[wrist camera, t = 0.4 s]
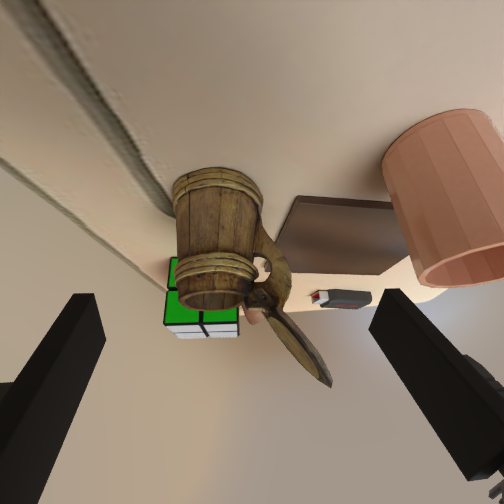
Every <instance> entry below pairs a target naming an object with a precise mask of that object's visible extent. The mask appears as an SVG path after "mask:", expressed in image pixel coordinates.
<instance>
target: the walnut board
mask: <svg viewBox="0 0 504 504" xmlns="http://www.w3.org/2000/svg"><path fill="white" fill-rule="evenodd" d="M275 244H276V245H277V246H278V247H279V249H280V250H281V252H282V253H283V255H284V256H285V258H286V259H287V261H288V264H289V267H290V270H291V273H319V274H353V275H380V274H382V273H383V272H385V271H386V270H388V269H389V268H391V267H392V266H394V265H395V264H396V263H398V262H399V261H401V260H402V259H404V258H405V257H407V256H408V255H409V252H408V249H407V246H406V243H405V240H404V237H403V234H402V231H401V228H400V225H399V222H398V219H397V216H396V213H395V210H394V207H393V204H392V203H390V202H376V201H363V200H349V199H336V198H323V197H309V196H297V198H296V200H295V203H294V205H293V207H292V209H291V211H290V213H289V215H288V217H287V220H286V222H285V224H284V226H283V228H282V230H281V232H280V235H279V237H278V239H277V241H276V243H275ZM265 272H271V267H270V264H269V262H268V261H267V262H266V264H265Z"/></svg>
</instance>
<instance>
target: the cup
mask: <svg viewBox="0 0 504 504" xmlns="http://www.w3.org/2000/svg"><path fill="white" fill-rule="evenodd" d="M382 173H383V177H384V180H385V183H386V186H387V189H388V192H389V195H390V198H391V201H392V204H393V207H394V210H395V213H396V216H397V219H398V222H399V225H400V228H401V231H402V234H403V237H404V240H405V243H406V246H407V249H408V252H409V255H410V258H411V261H412V264H413V267H414V270H415V273H416V276H417V279H418V281H419V283H420V284H421V285H424V286H428V287H431V288H456V287H466V286H474V285H479V284H485V283H490V282H496V281H500V280H504V138H503V136H502V135H501V133H500V132H499V130H498V129H497V127H496V126H495V125H494V124H493V123H492V121H491V120H490V118H489V117H488V116H487V115H486V114H485V113H483V112H481V111H478V110H473V109H458V110H452V111H448V112H444V113H441V114H438V115H435V116H433V117H430V118H428V119H426V120H424V121H422V122H420V123H418V124H417V125H415V126H414V127H412V128H410V129H409V130H408V131H406V132H405V133H404V134H403V135H401V136H400V137H399V138H398V139H397V140H396V141H395V142H394V143H393V144H392V145H391V147H390V148H389V149H388V151H387V152H386V154H385V156H384V158H383V161H382Z"/></svg>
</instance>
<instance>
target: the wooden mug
mask: <svg viewBox="0 0 504 504" xmlns="http://www.w3.org/2000/svg"><path fill="white" fill-rule="evenodd" d="M262 206H263V195H262V194H261V192H260V190H259V188H258V187H257V186H256V185H255V184H254V183H253V182H252V181H251V180H250V179H249V178H248V177H246V176H245V175H243V174H242V173H240V172H236V171H231V170H227V169H221V168H207V169H201V170H198V171H195V172H192V173H190V174H188V175H186V176H183V177H181V178H180V179H179V180H178V181H177V182H176V183H175V184H174V188H173V210H174V213H175V214H176V230H177V264H176V265H175V267H174V279H175V285H176V287H177V288H178V302H179V303H180V304H181V305H182V306H183V307H185V308H187V309H190V310H196V311H223V310H230V309H234V308H237V307H239V306H241V305H243V304H245V308H246V309H247V310H253V311H261V312H262V314H263V315H264V316H265V318H266V319H267V321H268V322H269V323H270V326H271V327H272V329H273V330H274V332H275V333H276V334H277V336H278V337H279V339H280V340H281V341H282V342H283V344H284V345H285V346H286V348H287V349H288V350H289V351H290V352H291V354H292V355H293V356H294V357H295V358H296V359H297V361H298V362H299V363H300V364H301V365H302V366H303V367H304V368H305V369H306V370H307V371H308V372H309V373H311V374H312V375H313V376H314V377H315V378H316V379H317V380H319V381H320V382H322V383H324V384H325V385H327V386H328V387H330V388H331V387H332V383H333V379H332V377H331V374H330V372H329V370H328V368H327V366H326V364H325V362H324V360H323V358H322V357H321V355H320V354H319V352H318V350H317V349H316V348H315V347H314V346H313V344H312V343H311V342H310V341H309V339H308V338H307V337H306V336H305V335H304V333H303V332H302V331H301V330H300V328H299V327H298V326H297V325H296V324H295V323H294V322H293V320H292V319H291V318H290V317H289V316H288V315H287V314H286V313H285V312H283V307H284V304H285V302H286V301H287V299H288V297H289V294H290V290H291V287H292V286H291V270H290V267H289V264H288V261H287V259H286V258H285V256H284V255H283V253H282V252H281V250H280V249H279V247H278V246H277V245H276V244H275V243H274V242H273V240H272V239H271V238H270V237H269V236H268V234H267V233H266V231H265V229H264V228H263V225H262V220H261V215H260V214H261V212H262ZM254 257H262V258H265V259H266V260H267V261H268V262H269V264H270V267H271V273H270V275H269V277H268V278H267V279H266V280H265V281H264V282H259V283H256V282H254V280H255V279H257V278H258V277H259V273H258V270H257V268H256V267H255V266H254V265H253V262H254Z"/></svg>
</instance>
